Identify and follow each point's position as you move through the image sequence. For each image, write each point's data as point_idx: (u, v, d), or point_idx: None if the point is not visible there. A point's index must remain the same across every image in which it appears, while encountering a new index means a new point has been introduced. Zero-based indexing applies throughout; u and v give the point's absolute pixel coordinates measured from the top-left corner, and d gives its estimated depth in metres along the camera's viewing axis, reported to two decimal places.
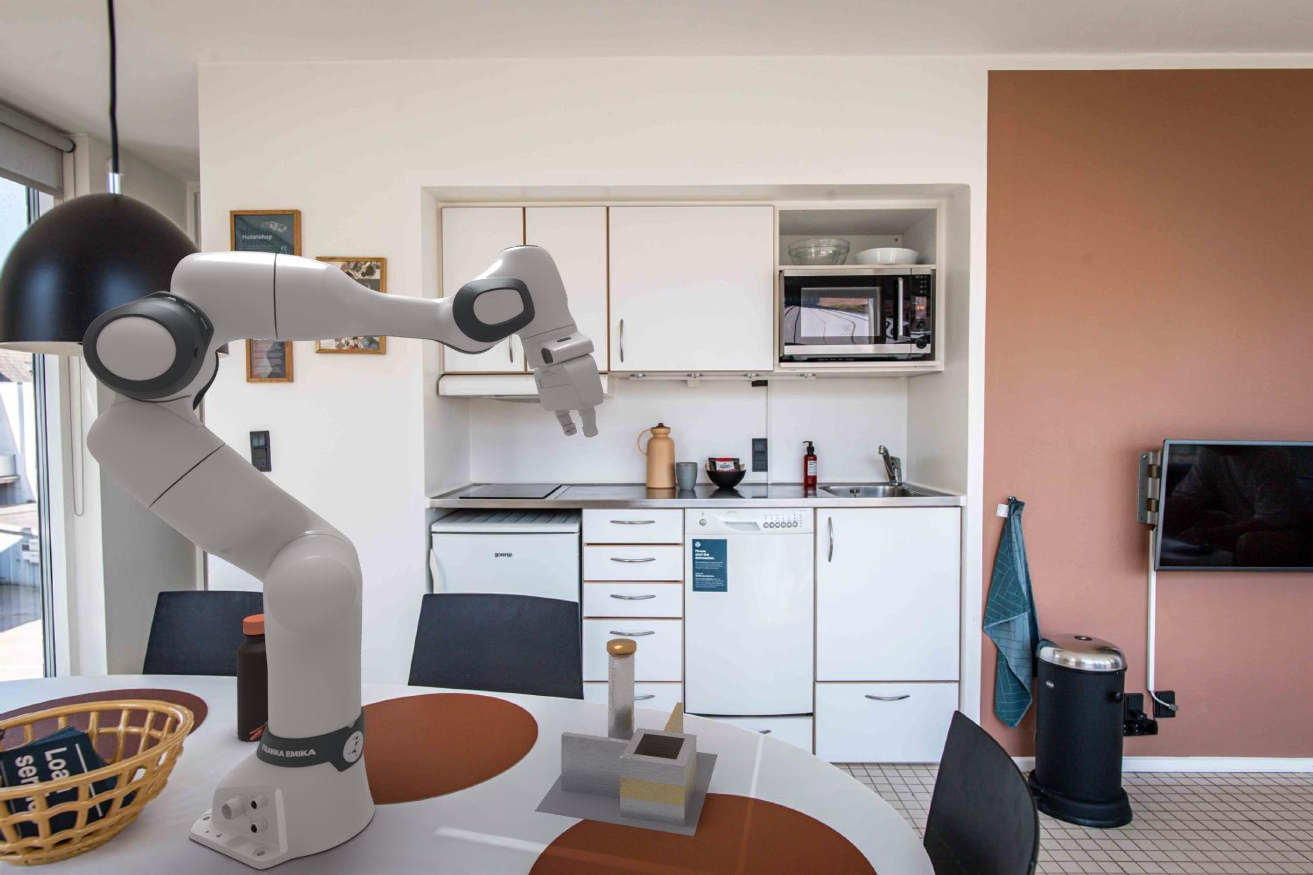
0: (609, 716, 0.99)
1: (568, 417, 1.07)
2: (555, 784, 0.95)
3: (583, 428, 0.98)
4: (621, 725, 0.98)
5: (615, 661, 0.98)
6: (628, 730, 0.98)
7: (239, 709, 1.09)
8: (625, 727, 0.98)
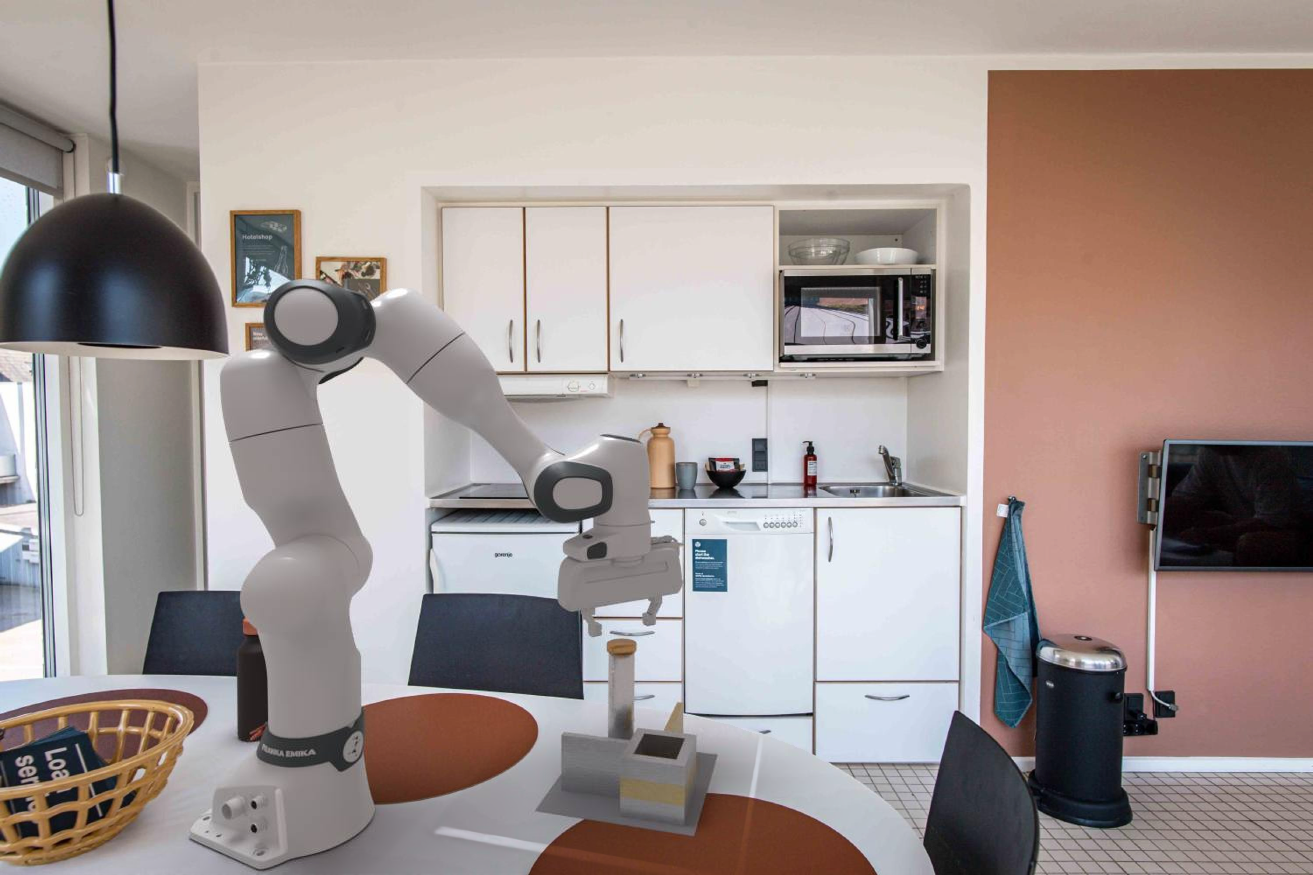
0: (609, 716, 0.99)
1: (654, 607, 1.02)
2: (555, 784, 0.95)
3: None
4: (621, 725, 0.98)
5: (615, 661, 0.98)
6: (628, 730, 0.98)
7: (239, 709, 1.09)
8: (625, 727, 0.98)
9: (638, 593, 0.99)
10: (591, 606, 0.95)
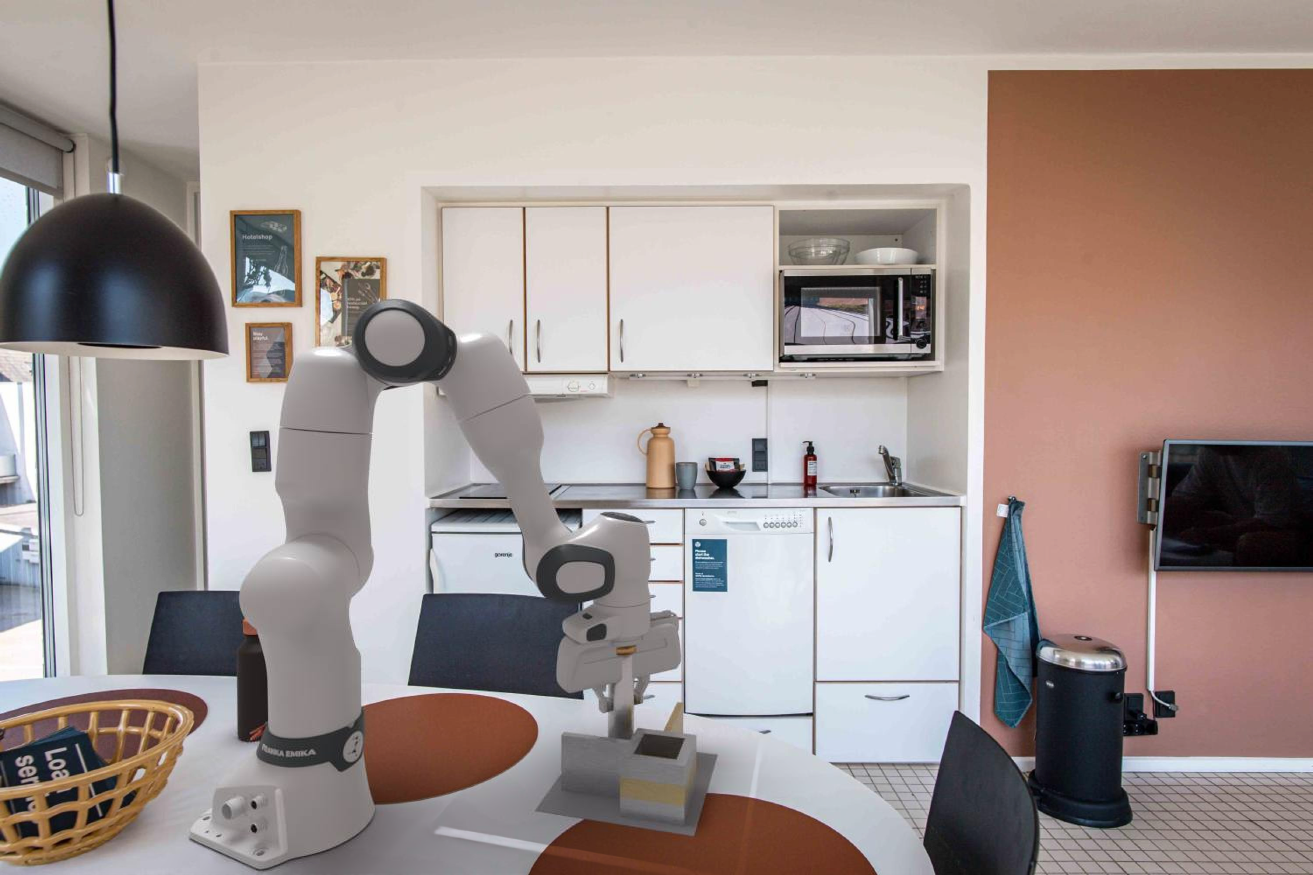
0: (609, 716, 0.99)
1: (642, 685, 1.01)
2: (555, 784, 0.95)
3: None
4: (621, 725, 0.98)
5: None
6: (628, 730, 0.98)
7: (239, 709, 1.09)
8: (625, 727, 0.98)
9: (637, 671, 0.99)
10: (590, 686, 0.95)
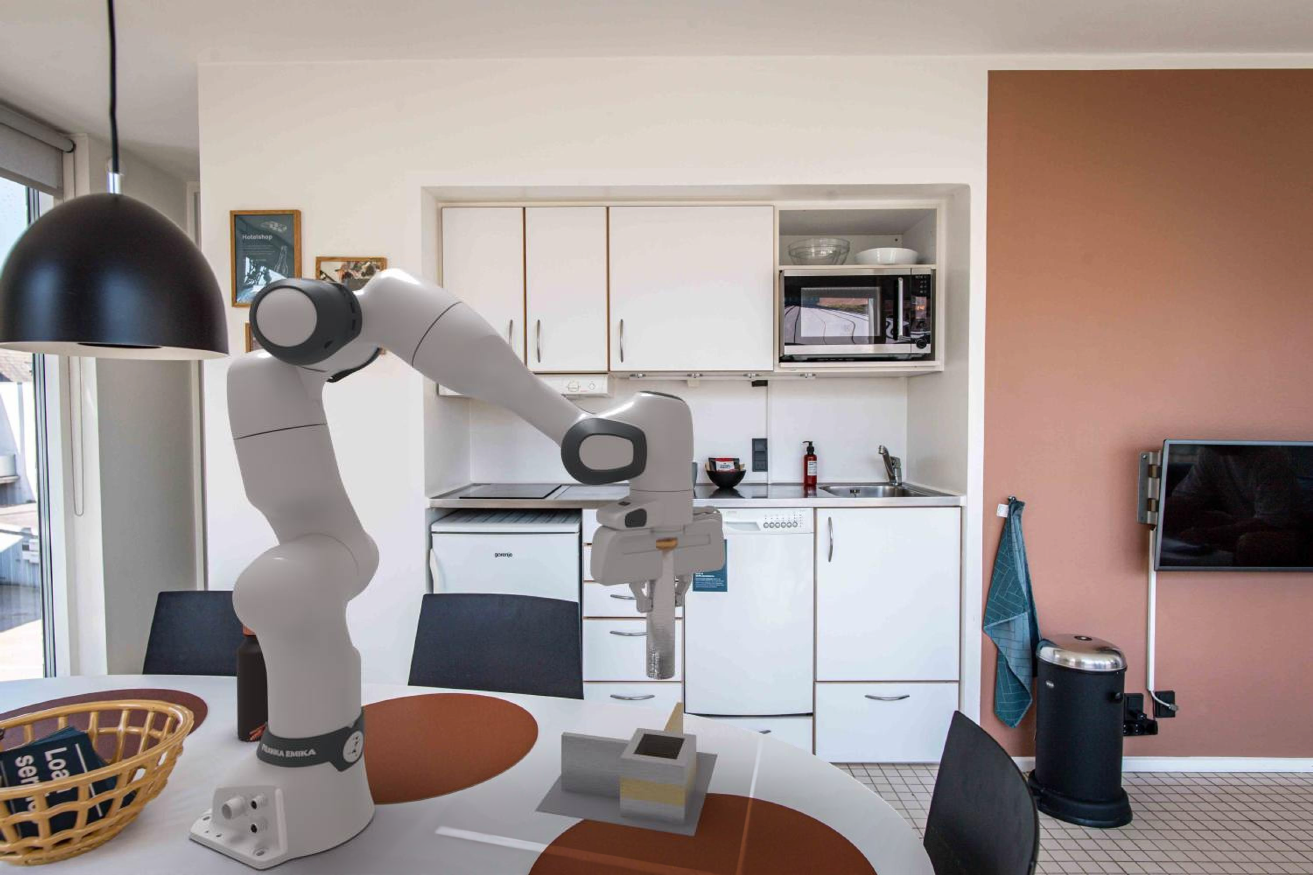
0: (648, 618, 0.89)
1: (683, 586, 0.91)
2: (555, 784, 0.95)
3: None
4: (662, 626, 0.88)
5: None
6: (669, 633, 0.88)
7: (239, 709, 1.09)
8: (666, 629, 0.88)
9: (679, 567, 0.89)
10: (628, 580, 0.85)
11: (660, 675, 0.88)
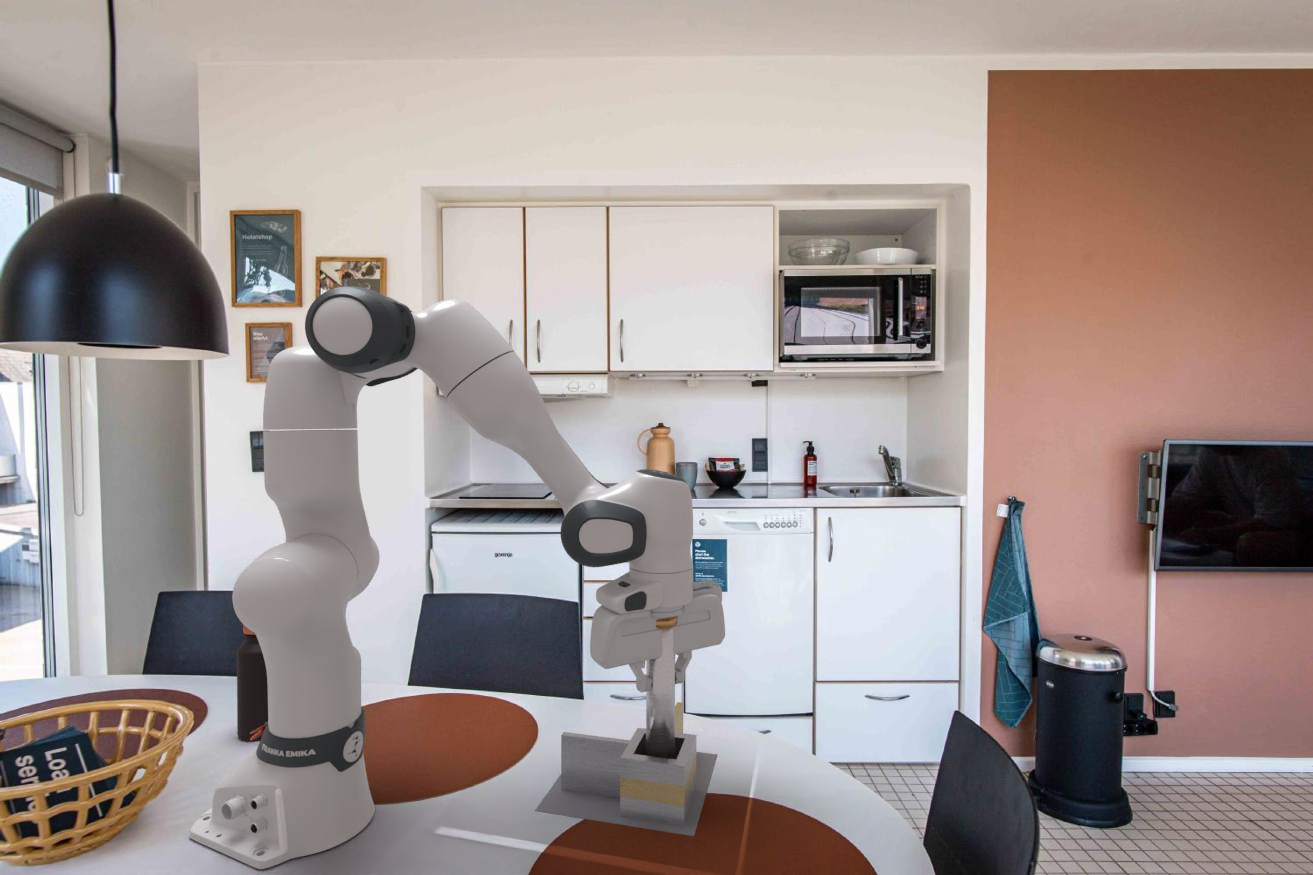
0: (648, 696, 0.89)
1: (683, 662, 0.91)
2: (555, 784, 0.95)
3: None
4: (662, 705, 0.88)
5: None
6: (669, 711, 0.88)
7: (239, 709, 1.09)
8: (666, 708, 0.88)
9: (678, 645, 0.89)
10: (628, 662, 0.85)
11: (660, 754, 0.88)
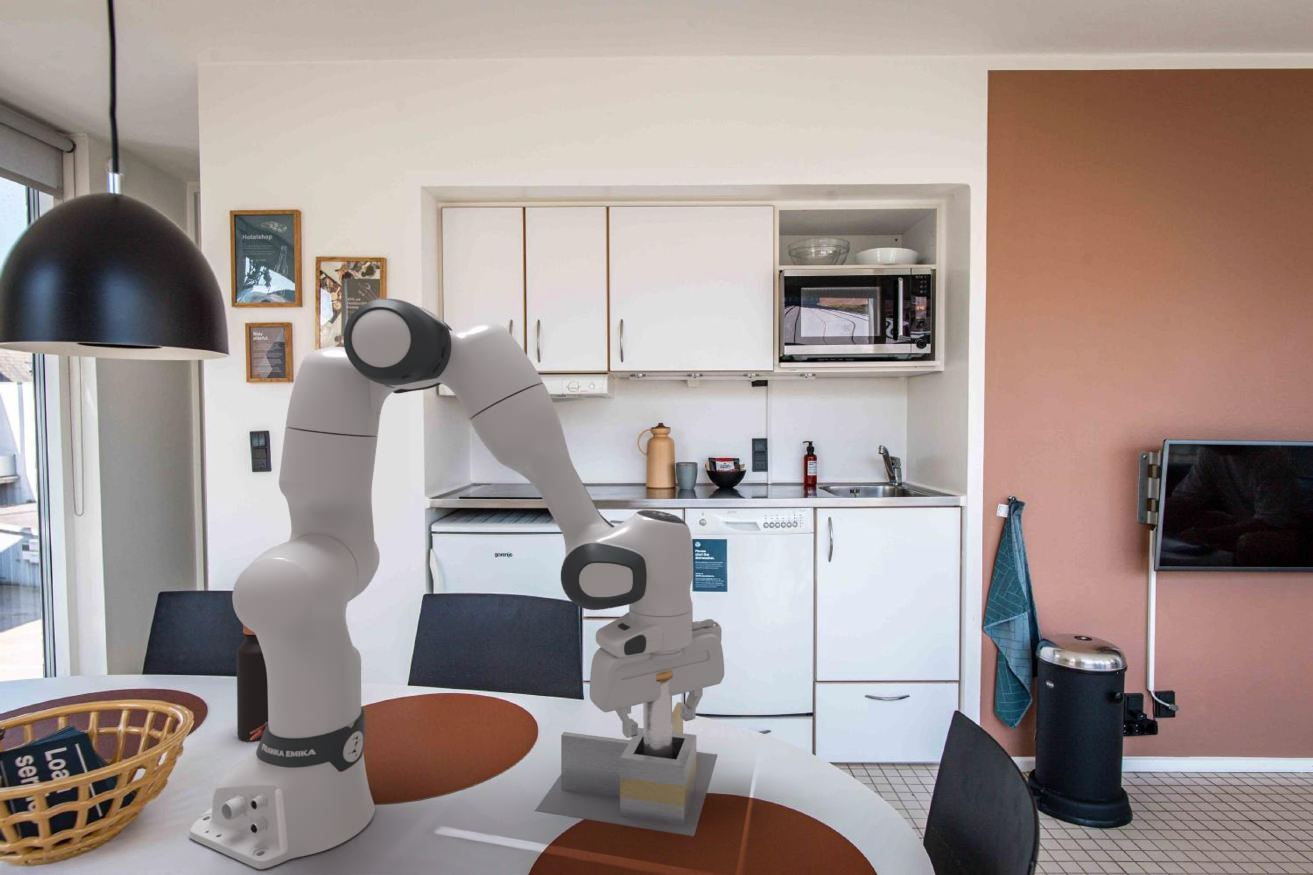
0: (645, 749, 0.89)
1: (694, 700, 0.92)
2: (555, 784, 0.95)
3: None
4: None
5: None
6: None
7: (239, 709, 1.09)
8: None
9: (678, 687, 0.89)
10: (627, 705, 0.85)
11: None
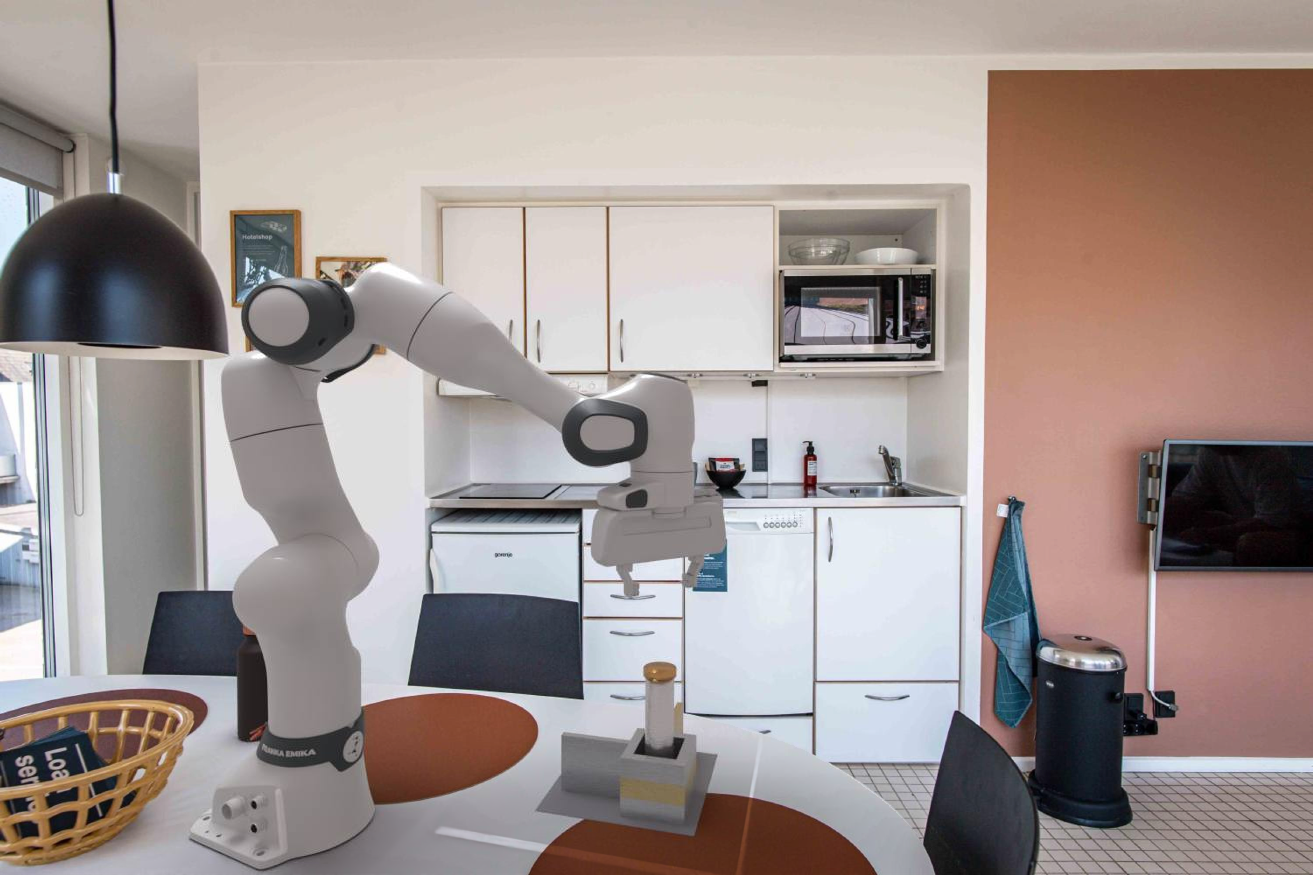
0: (646, 748, 0.89)
1: (695, 567, 0.92)
2: (555, 784, 0.95)
3: None
4: None
5: (653, 688, 0.88)
6: None
7: (239, 709, 1.09)
8: None
9: (679, 550, 0.89)
10: (629, 562, 0.85)
11: None
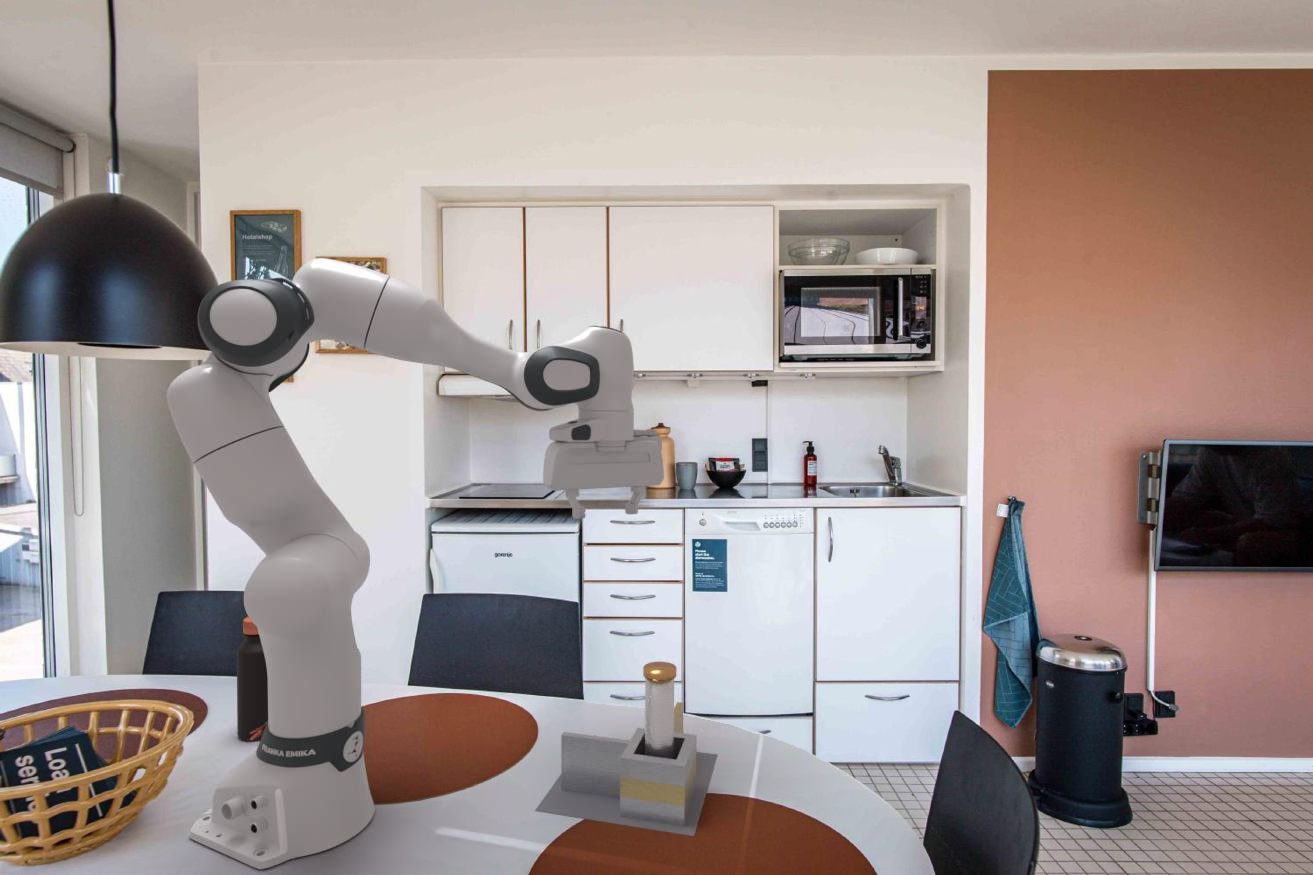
0: (646, 748, 0.89)
1: (636, 497, 1.06)
2: (555, 784, 0.95)
3: None
4: None
5: (653, 688, 0.88)
6: None
7: (239, 709, 1.09)
8: None
9: (621, 479, 1.03)
10: (575, 487, 0.99)
11: None
